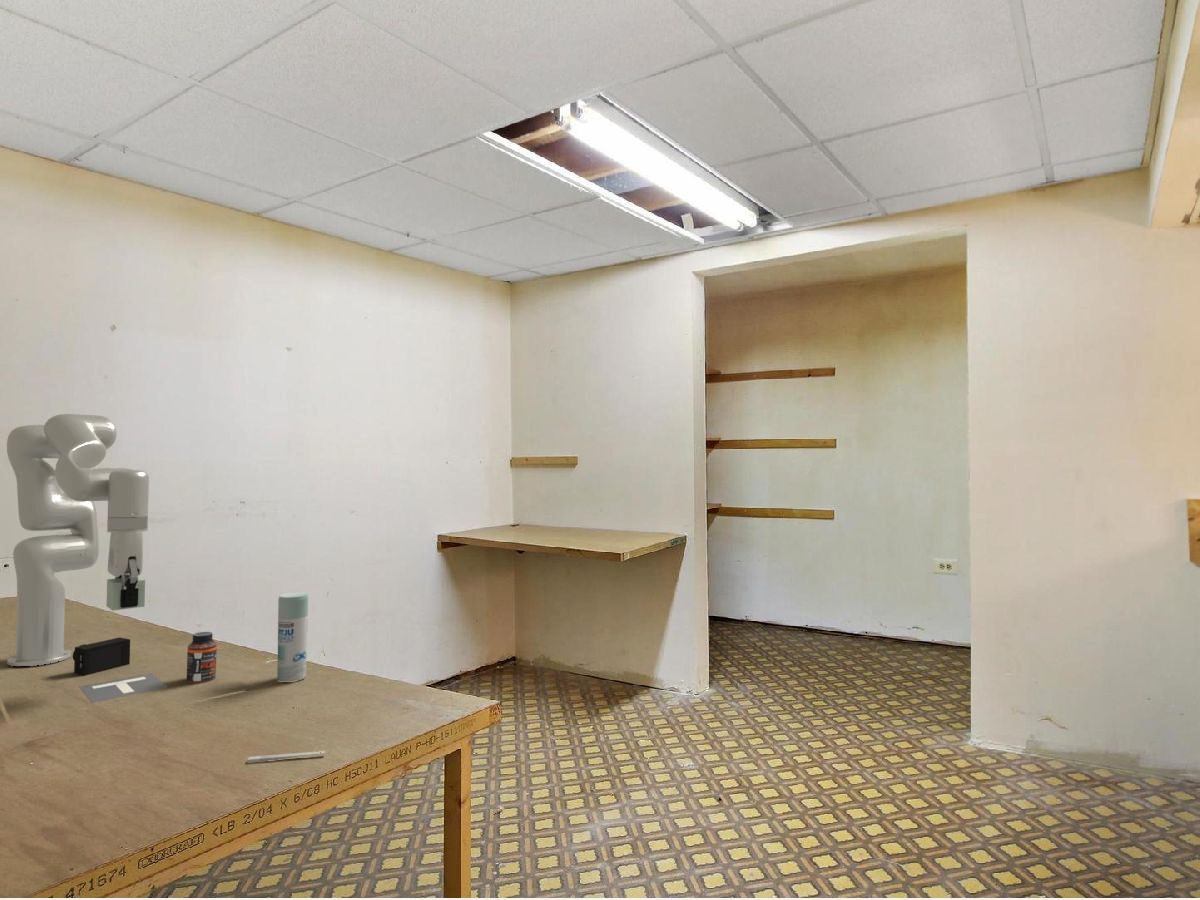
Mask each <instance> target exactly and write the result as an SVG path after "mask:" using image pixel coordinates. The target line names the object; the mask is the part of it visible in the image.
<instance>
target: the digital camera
mask: <svg viewBox="0 0 1200 900" xmlns="http://www.w3.org/2000/svg"><path fill="white" fill-rule="evenodd" d="M72 659H73V661H74V665H73V667H74V668H73V674H75V675H78V676H85V677H86V676H90V675H93V674H97V673H101V672H105V671H109V670H112V669H116V668H117V669H118V668H121V667H124V666H128V665H130V663H131V661H130V660H131V639H130V638H127V637H120V636H119V637H116V638H110V639H106V640H102V641H101V640H100V641H98V642H92V643H88V644H87V643H86V644H85V643H84V644H81V645H79V646H75V647H74V651H73V652H72Z"/></svg>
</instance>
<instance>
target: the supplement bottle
mask: <svg viewBox="0 0 1200 900" xmlns="http://www.w3.org/2000/svg"><path fill="white" fill-rule="evenodd" d="M217 646H218V644H217V642H216V641H215V640H213V632H212V631H200V632H199V631H198V632H195V633H193V634H192V641H191V642H190V644H188V646H187V652H186V653H187V654H186V655H187V656H186V657H187V658H186V683H187V684H204V683H208V682H211V681H214V680H215V679H216V675H217V652H218V651H217V649H218V647H217Z"/></svg>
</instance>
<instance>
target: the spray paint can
mask: <svg viewBox="0 0 1200 900" xmlns="http://www.w3.org/2000/svg"><path fill="white" fill-rule="evenodd" d="M277 601H278V604H277V605H278V608H277V609H278V610H277V612H278V613H277V614H278V615H277V616H278V617H277V668H276V669H277V670H276V671H277V672H276V673H277V681H278V680H279V681H294V680H300V679H302V678H304V677H305V676H306V677H307V656H308V655H307V654H308V653H307V651H308V649H307V648H308V620H309V616H308V615H309V595H308V593H306V592H302V591H300V592H297V591H296V592H294V591H293V592H286V593H282V594H280V595H279V596H278V599H277Z"/></svg>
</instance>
